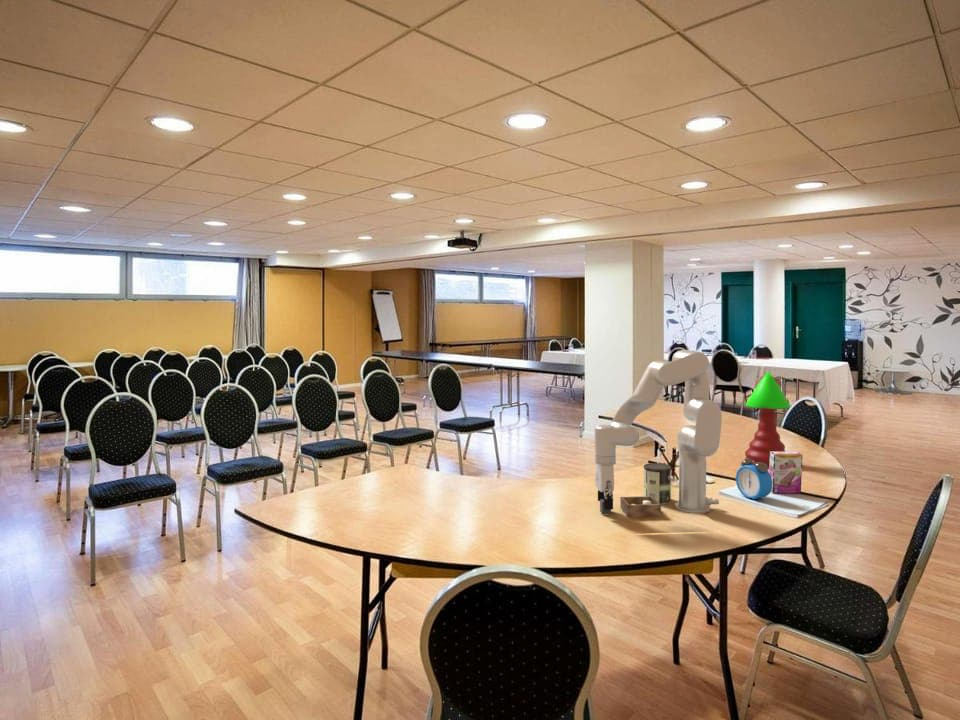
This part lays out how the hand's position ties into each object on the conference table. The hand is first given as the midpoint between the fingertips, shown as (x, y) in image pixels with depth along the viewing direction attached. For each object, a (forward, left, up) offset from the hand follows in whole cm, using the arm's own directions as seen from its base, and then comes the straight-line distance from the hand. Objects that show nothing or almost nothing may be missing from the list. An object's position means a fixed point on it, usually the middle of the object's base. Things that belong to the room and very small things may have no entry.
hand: (605, 505), depth 216 cm
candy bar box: (-79, -21, -4) cm, 82 cm away
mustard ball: (-11, 0, -3) cm, 11 cm away
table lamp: (-95, -66, -4) cm, 116 cm away
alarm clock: (-63, -15, -4) cm, 65 cm away
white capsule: (-16, 0, -3) cm, 16 cm away
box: (-13, 0, -4) cm, 14 cm away
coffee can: (-24, -14, -4) cm, 28 cm away
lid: (0, 0, -4) cm, 4 cm away
